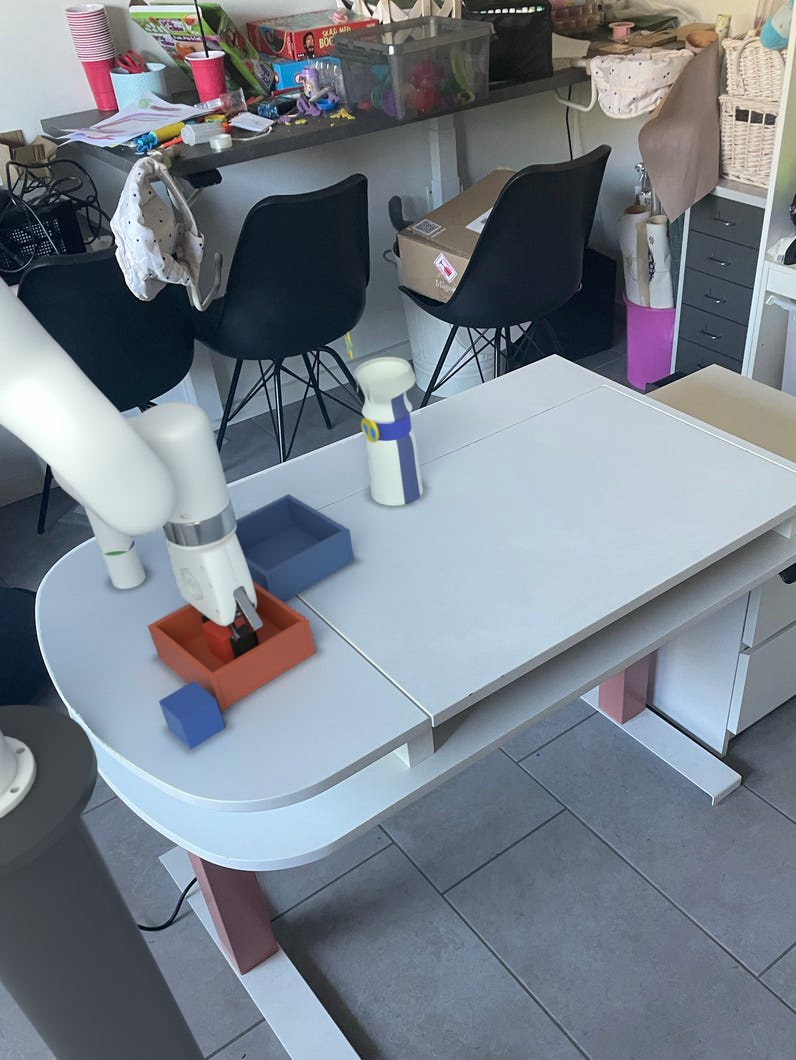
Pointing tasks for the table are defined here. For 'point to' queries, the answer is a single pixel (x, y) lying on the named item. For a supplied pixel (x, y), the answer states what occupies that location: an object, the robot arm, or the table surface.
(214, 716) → the blue block
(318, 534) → the blue bin
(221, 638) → the red block
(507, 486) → the table surface
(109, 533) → the tube
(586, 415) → the table surface
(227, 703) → the red bin
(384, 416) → the water bottle
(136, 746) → the table surface
